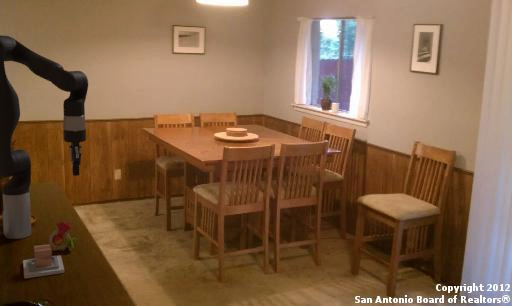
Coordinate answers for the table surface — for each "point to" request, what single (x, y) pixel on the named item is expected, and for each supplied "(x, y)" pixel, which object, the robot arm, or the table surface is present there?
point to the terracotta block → (43, 256)
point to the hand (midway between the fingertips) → (76, 175)
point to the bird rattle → (59, 239)
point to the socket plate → (43, 268)
